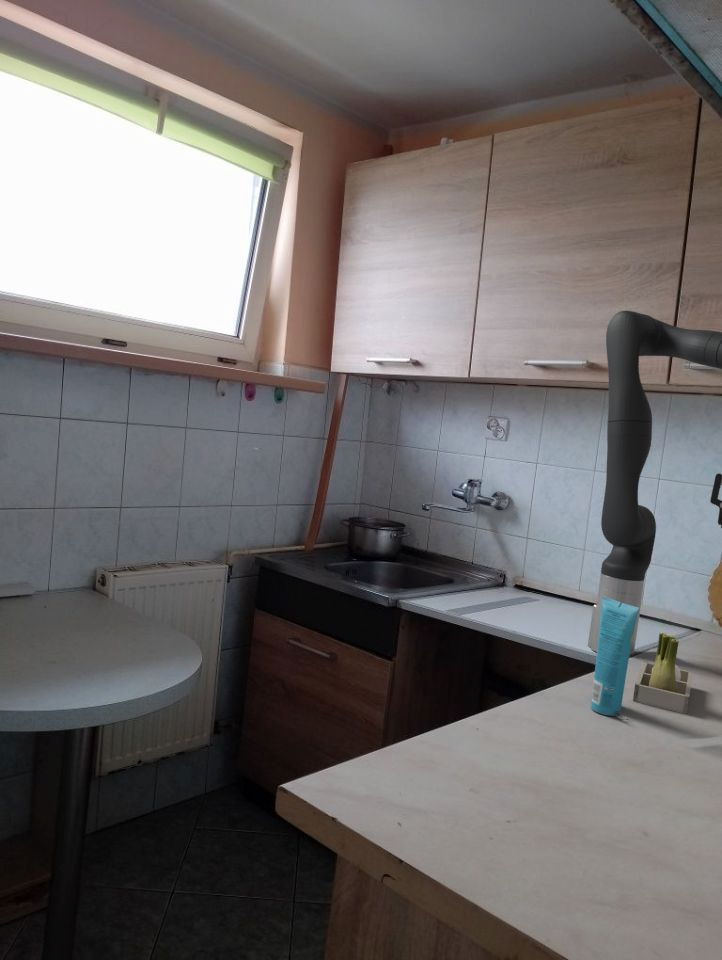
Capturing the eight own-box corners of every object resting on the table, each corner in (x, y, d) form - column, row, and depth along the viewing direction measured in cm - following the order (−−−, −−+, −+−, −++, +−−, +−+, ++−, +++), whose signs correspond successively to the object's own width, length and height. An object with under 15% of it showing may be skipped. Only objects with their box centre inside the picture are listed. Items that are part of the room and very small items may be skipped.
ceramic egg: (643, 683, 145) (647, 657, 145) (663, 682, 147) (667, 656, 147) (664, 693, 140) (668, 666, 140) (685, 692, 143) (689, 665, 142)
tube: (631, 716, 129) (647, 606, 128) (616, 721, 126) (631, 608, 125) (594, 701, 135) (608, 595, 133) (578, 705, 132) (592, 597, 130)
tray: (641, 681, 150) (643, 661, 150) (689, 692, 146) (692, 672, 146) (632, 706, 134) (635, 684, 134) (686, 719, 131) (689, 697, 130)
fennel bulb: (647, 692, 140) (656, 629, 139) (675, 698, 138) (685, 634, 137) (646, 701, 135) (656, 636, 134) (676, 708, 133) (686, 641, 132)
